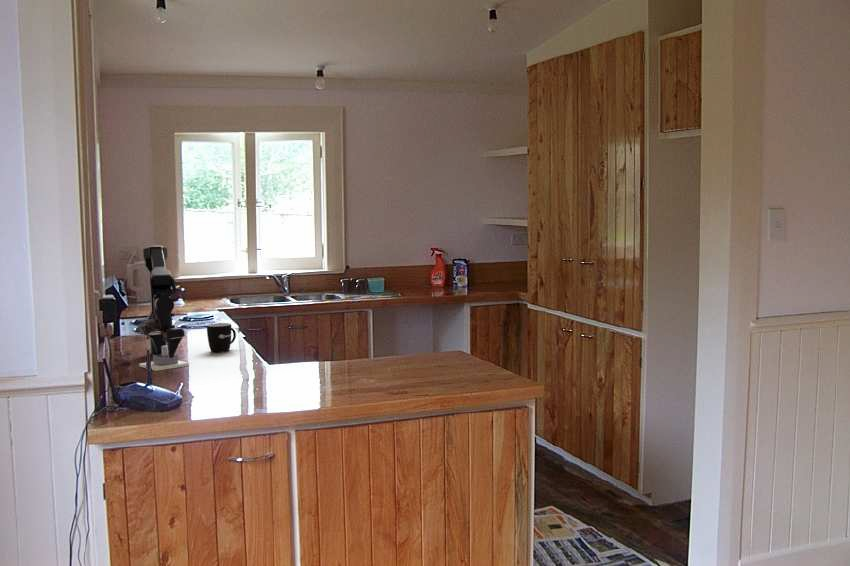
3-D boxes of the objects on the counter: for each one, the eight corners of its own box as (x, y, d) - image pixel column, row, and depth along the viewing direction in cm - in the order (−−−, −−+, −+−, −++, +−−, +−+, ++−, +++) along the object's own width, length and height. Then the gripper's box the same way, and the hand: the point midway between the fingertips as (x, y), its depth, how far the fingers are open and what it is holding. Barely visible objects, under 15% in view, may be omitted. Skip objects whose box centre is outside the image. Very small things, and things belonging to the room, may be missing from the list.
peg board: (139, 366, 280) (138, 346, 279) (172, 361, 288) (171, 341, 287) (155, 370, 271) (154, 350, 270) (188, 365, 279) (187, 345, 279)
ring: (153, 363, 279) (152, 355, 279) (169, 361, 283) (169, 352, 283) (161, 365, 275) (160, 357, 274) (178, 363, 279) (177, 354, 278)
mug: (218, 354, 302) (216, 326, 301) (202, 352, 307) (201, 325, 307) (243, 349, 312) (242, 323, 311) (228, 347, 317) (227, 321, 316)
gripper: (127, 311, 278) (130, 356, 280) (152, 315, 265) (154, 362, 266) (159, 307, 286) (161, 352, 287) (184, 311, 273) (186, 358, 274)
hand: (165, 356), depth 279 cm, fingers open, 9 cm apart
